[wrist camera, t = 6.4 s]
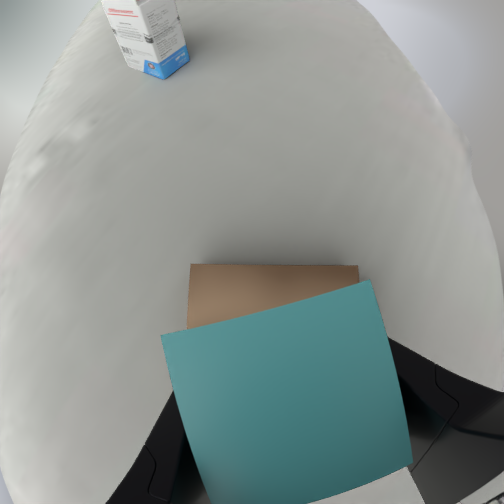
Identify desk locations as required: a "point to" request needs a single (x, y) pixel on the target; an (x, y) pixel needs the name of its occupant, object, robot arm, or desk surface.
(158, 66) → the ink box
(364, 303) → the teal tall block
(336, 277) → the walnut stand
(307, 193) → the desk surface
